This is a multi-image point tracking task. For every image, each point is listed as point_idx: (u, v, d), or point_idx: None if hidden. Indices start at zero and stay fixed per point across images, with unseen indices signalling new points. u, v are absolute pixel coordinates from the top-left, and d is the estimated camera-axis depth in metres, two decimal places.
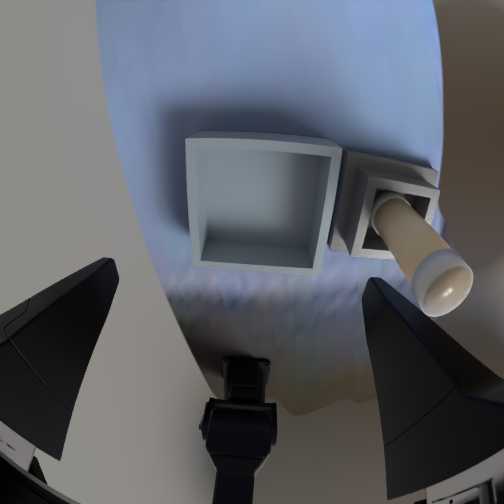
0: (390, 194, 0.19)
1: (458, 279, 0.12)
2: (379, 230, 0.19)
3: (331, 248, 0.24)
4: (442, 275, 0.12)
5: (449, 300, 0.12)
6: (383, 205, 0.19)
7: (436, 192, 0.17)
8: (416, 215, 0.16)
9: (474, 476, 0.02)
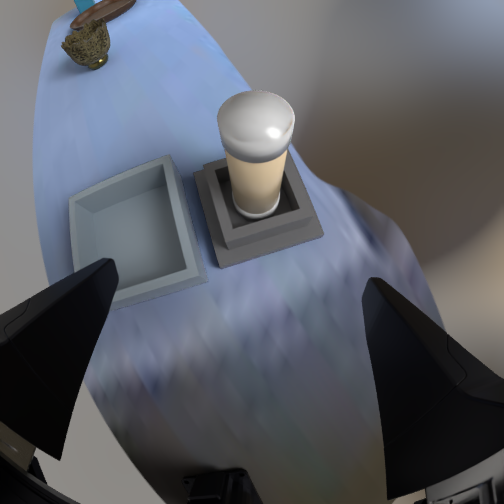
0: None
1: (256, 102, 0.12)
2: (236, 198, 0.20)
3: (220, 264, 0.22)
4: (227, 106, 0.12)
5: (269, 121, 0.12)
6: None
7: None
8: None
9: (474, 476, 0.02)
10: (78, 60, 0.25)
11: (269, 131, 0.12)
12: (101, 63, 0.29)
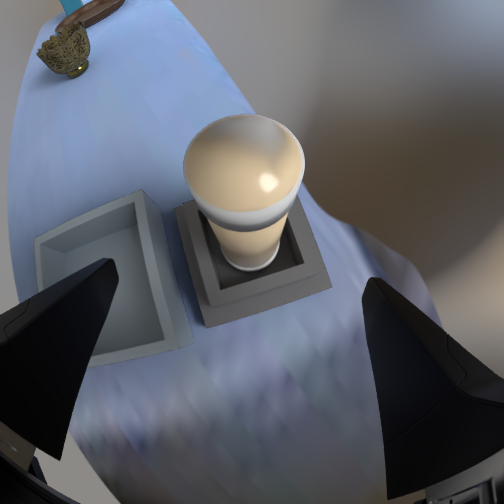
0: None
1: (244, 134, 0.08)
2: (224, 251, 0.16)
3: (206, 324, 0.18)
4: (200, 142, 0.08)
5: (264, 170, 0.08)
6: None
7: None
8: None
9: (474, 476, 0.02)
10: (55, 68, 0.21)
11: (264, 188, 0.08)
12: (80, 71, 0.25)
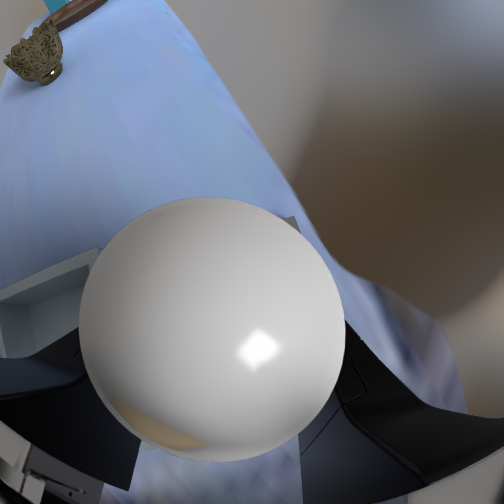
0: None
1: (201, 263, 0.04)
2: None
3: None
4: (104, 279, 0.03)
5: (248, 373, 0.03)
6: None
7: None
8: None
9: None
10: (23, 76, 0.16)
11: (247, 414, 0.03)
12: (52, 77, 0.20)
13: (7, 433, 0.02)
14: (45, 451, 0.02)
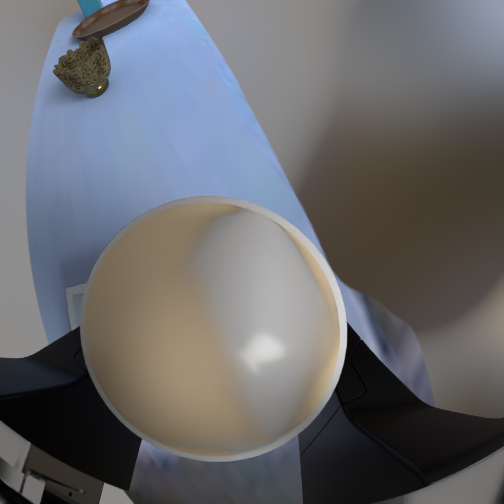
0: None
1: (203, 262, 0.04)
2: None
3: None
4: (106, 278, 0.03)
5: (250, 372, 0.03)
6: None
7: None
8: None
9: None
10: (73, 88, 0.23)
11: (249, 413, 0.03)
12: (100, 91, 0.27)
13: (7, 433, 0.02)
14: (45, 451, 0.02)
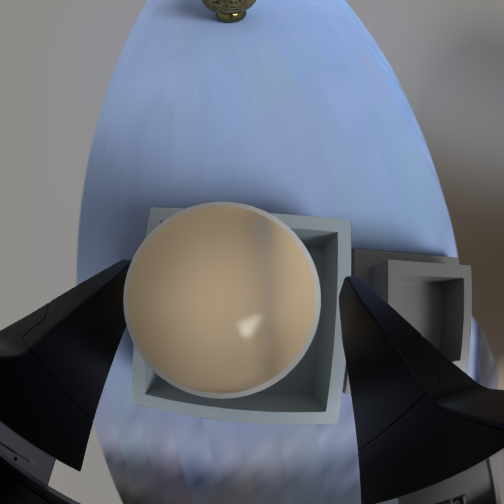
0: None
1: (220, 246, 0.05)
2: None
3: (347, 390, 0.14)
4: (147, 259, 0.05)
5: (252, 322, 0.05)
6: None
7: (467, 269, 0.13)
8: None
9: (474, 476, 0.02)
10: (209, 1, 0.19)
11: (251, 355, 0.05)
12: (235, 18, 0.22)
13: None
14: None
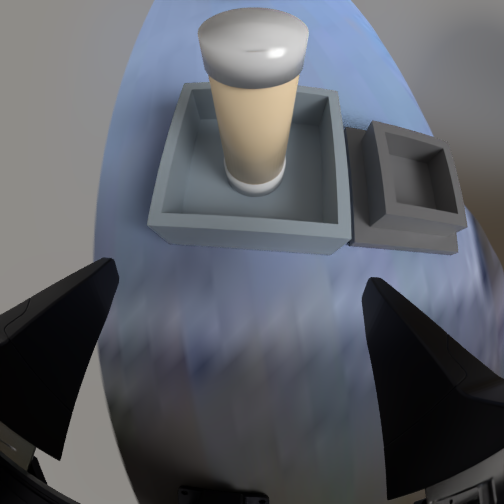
0: None
1: (253, 16, 0.07)
2: (228, 162, 0.14)
3: (356, 238, 0.16)
4: (213, 20, 0.07)
5: (272, 32, 0.07)
6: None
7: (445, 143, 0.15)
8: None
9: (474, 476, 0.02)
10: None
11: (273, 40, 0.07)
12: None
13: None
14: None
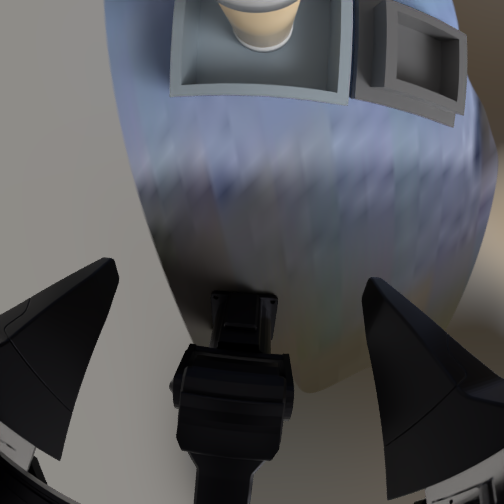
0: None
1: None
2: (237, 34, 0.12)
3: (356, 95, 0.15)
4: None
5: None
6: None
7: (463, 35, 0.09)
8: None
9: (474, 476, 0.02)
10: None
11: None
12: None
13: None
14: None
